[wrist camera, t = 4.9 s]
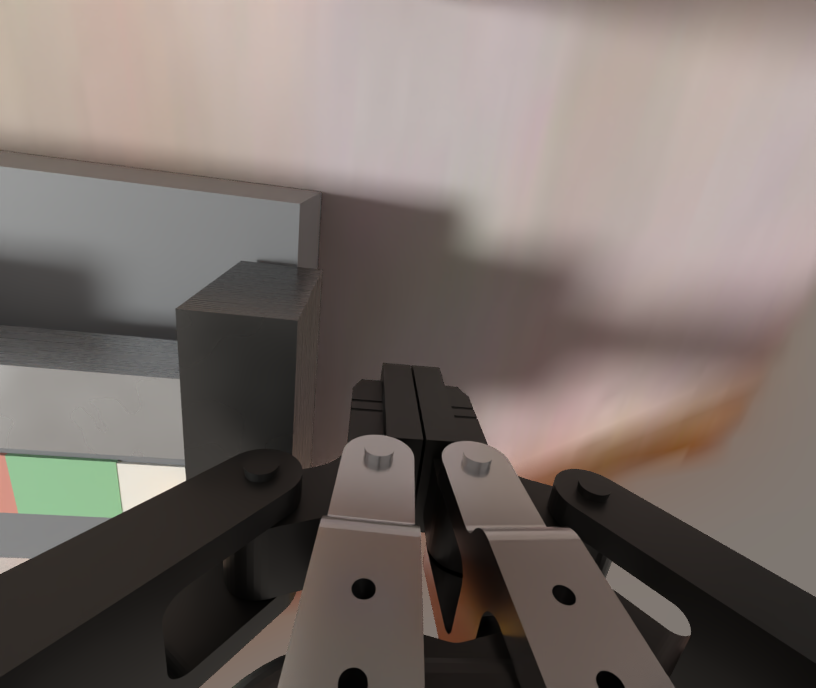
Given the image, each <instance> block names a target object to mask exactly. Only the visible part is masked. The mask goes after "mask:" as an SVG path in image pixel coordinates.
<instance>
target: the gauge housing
mask: <svg viewBox="0 0 816 688" xmlns="http://www.w3.org/2000/svg"><path fill="white" fill-rule="evenodd" d="M321 198H322V192H319V191H311V190H303V189H296V188H288V187H280V186H272V185H265V184H257V183H249V182H241V181H234V180H226V179H218V178H210V177H203V176H195V175H187V174H179V173H171V172H164V171H156V170H148V169H140V168H133V167H125V166H117V165H109V164H102V163H94V162H86V161H78V160H71V159H63V158H55V157H47V156H40V155H32V154H24V153H16V152H8V151H1V150H0V325H10V326H21V327H32V328H44V329H55V330H66V331H77V332H88V333H99V334H111V335H122V336H133V337H144V338H155V339H167V340H177V328H176V311H175V309H176V308H177V307H178V306H180V305H181V304H183V303H184V302H185V301H187V300H188V299H189V298H191V297H192V296H193V295H195V294H196V293H198V292H199V291H200V290H202V289H203V288H204V287H206V286H207V285H208V284H210V283H211V282H213V281H214V280H215V279H217V278H218V277H219V276H221V275H222V274H224V273H225V272H226V271H228V270H229V269H230V268H232V267H233V266H234V265H236V264H237V263H239V262H240V261H249V262H258V263H267V264H276V265H285V266H295V267H304V268H313V269H318V251H319V233H320V216H321ZM184 481H186V474H185V459H170V458H154V457H137V456H121V455H105V454H89V453H73V452H56V451H40V450H24V449H8V448H0V557H6V558H34V557H36V556H37V555H39V554H41V553H43V552H45V551H47V550H49V549H51V548H53V547H55V546H57V545H59V544H61V543H63V542H65V541H67V540H69V539H71V538H73V537H75V536H77V535H79V534H81V533H83V532H85V531H87V530H89V529H91V528H93V527H95V526H97V525H99V524H101V523H103V522H105V521H107V520H109V519H111V518H113V517H115V516H117V515H119V514H121V513H123V512H125V511H127V510H129V509H131V508H133V507H135V506H137V505H139V504H141V503H143V502H145V501H147V500H149V499H151V498H153V497H155V496H157V495H159V494H161V493H163V492H165V491H167V490H169V489H171V488H173V487H175V486H176V485H178V484H180V483H182V482H184Z"/></svg>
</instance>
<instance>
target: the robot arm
mask: <svg viewBox="0 0 816 688" xmlns="http://www.w3.org/2000/svg"><path fill="white" fill-rule="evenodd" d="M421 532H424V533H425V536H426V545H425V551H424V557H423V567H424V572H425V577H426V581H427V586H428V591H429V596H430V601H431V605H432V610H433V615H434V620H435V624H436V629H437V634H438V639H437V638H434V637H430V636H426V635H423V599H422V560H421ZM612 561H613V562H614V563H615V564H617V565H618V566H620V567H622V568H623V569H624V570H626V571H627V572H629V573H630V574H631V575H633V576H634V577H636V578H637V579H639V580H640V581H642V582H643V583H645V584H646V585H647V586H649V587H650V588H652V589H653V590H655V591H656V592H658V593H659V594H660V595H662V596H663V597H665V598H666V599H668V600H669V601H670V602H672V603H673V604H675V605H676V606H677V607H678V608H679V609H680V610H681V611H682V612H683V613H684V615H685V616H686V618H687V619H688V621H689V624H690V627H691V635H690V636H680V635H677V634H674V633H672V632H671V631H669V630H668V629H666V628H665V627H664V626H662V625H661V624H659V623H658V622H657V621H655V620H654V619H653V618H651V617H650V616H649V615H647V614H646V613H644V612H643V611H642V610H640V609H639V608H638V607H636V606H635V605H634V604H632V603H631V602H629V601H628V600H627V599H625V598H624V597H623V596H621V595H620V594H619V593H617V592H616V591H614V590H613V589H612V588H611V586H610V585H609V583H608V581H607V580H606V576H607V573H608V571H609V568H610V565H611V562H612ZM300 590H302V594H301V598H300V602H299V606H298V610H297V614H296V618H295V622H294V626H293V629H292V633H291V637H290V641H289V645H288V649H287V653H286V655H283V656H281V657H278V658H276V659H274V660H272V661H271V662H269V663H267V664H265V665H263V666H262V667H260V668H258V669H257V670H255V671H254V672H252V673H251V674H249V675H248V676H246V677H245V678H243V679H242V680H241V681H239V682H238V683H237V684H236V685H235V686H233V687H232V688H816V597H815V596H813V595H811V594H809V593H807V592H806V591H804V590H802V589H800V588H799V587H797V586H795V585H793V584H792V583H790V582H788V581H787V580H785V579H783V578H781V577H779V576H778V575H776V574H774V573H772V572H771V571H769V570H767V569H765V568H763V567H762V566H760V565H758V564H757V563H755V562H753V561H751V560H750V559H748V558H746V557H744V556H743V555H741V554H739V553H737V552H735V551H734V550H732V549H730V548H728V547H727V546H725V545H723V544H722V543H720V542H718V541H716V540H715V539H713V538H711V537H709V536H708V535H706V534H704V533H702V532H701V531H699V530H697V529H695V528H693V527H692V526H690V525H688V524H686V523H685V522H683V521H681V520H679V519H678V518H676V517H674V516H672V515H671V514H669V513H667V512H665V511H664V510H662V509H660V508H658V507H656V506H655V505H653V504H651V503H650V502H648V501H646V500H644V499H643V498H641V497H639V496H637V495H636V494H634V493H632V492H630V491H629V490H627V489H625V488H623V487H622V486H620V485H618V484H616V483H615V482H613V481H611V480H609V479H607V478H605V477H603V476H601V475H599V474H596V473H593V472H590V471H586V470H580V469H568V470H564V471H562V472H560V473H558V474H557V476H556V477H555V480H554V483H553V486H550V485H546V484H542V483H539V482H535V481H531V480H528V479H525V478H522V477H519V476H517V474H516V472H515V470H514V469H513V467H512V465H511V463H510V461H509V460H508V459H507V457H506V456H505V455H504V454H502V453H501V452H500V451H498V450H497V449H495V448H493V447H491V446H489V445H488V444H487V442H486V439H485V437H484V434H483V432H482V429H481V427H480V424H479V422H478V419H477V417H476V414H475V412H474V410H473V407H472V404H471V402H470V399H469V397H468V396H467V395H466V394H465V393H463V392H462V391H461V390H460V389H459V388H458V387H451V386H445V385H444V382H443V378H442V375H441V372H440V369H439V368H436V367H425V366H413V365H412V366H410V365H401V364H389V363H383V365H382V372H381V381H376V380H364V379H362V380H361V381H360V382H359V383H358V384H357V385H355V386H354V387H353V392H352V402H351V413H350V423H349V433H348V443H347V444H346V446H345V447H344V449H343V453H342V455H341V456H340V457H339V458H338V459H336V460H334V461H333V462H330V463H328V464H325V465H322V466H318V467H313V468H307V469H302V465H301V464H300V462H299V461H298V459H297V458H296V457H294V456H293V455H291V454H289V453H287V452H284V451H281V450H276V449H255V450H250V451H247V452H243V453H241V454H238V455H236V456H234V457H232V458H230V459H228V460H226V461H224V462H222V463H220V464H218V465H216V466H214V467H212V468H210V469H208V470H206V471H204V472H202V473H200V474H198V475H196V476H194V477H192V478H190V479H188V480H186V481H184V482H182V483H180V484H178V485H176V486H175V487H173V488H171V489H169V490H167V491H165V492H163V493H161V494H159V495H157V496H155V497H153V498H151V499H149V500H147V501H145V502H143V503H141V504H139V505H137V506H135V507H133V508H131V509H129V510H127V511H125V512H123V513H121V514H119V515H117V516H115V517H113V518H111V519H109V520H107V521H105V522H103V523H101V524H99V525H97V526H95V527H93V528H91V529H89V530H87V531H85V532H83V533H81V534H79V535H77V536H75V537H73V538H71V539H69V540H67V541H65V542H63V543H61V544H59V545H57V546H55V547H53V548H51V549H49V550H47V551H45V552H43V553H41V554H39V555H37V556H36V557H34V558H32V559H30V560H28V561H26V562H24V563H22V564H20V565H18V566H16V567H14V568H12V569H10V570H8V571H6V572H4V573H2V574H0V688H199V687H200V686H201V685H203V683H205V682H206V681H207V680H208V679H209V678H210V677H211V676H212V675H214V674H215V673H216V672H217V671H218V670H219V669H220V668H221V667H222V666H223V665H224V664H226V663H227V662H228V661H229V660H230V659H231V658H232V657H233V656H234V655H235V654H237V653H238V652H239V651H240V650H241V649H242V648H243V647H244V646H245V645H246V644H247V643H249V642H250V641H251V640H252V639H253V638H254V637H255V636H256V635H257V634H259V633H260V632H261V631H262V629H264V628H265V627H266V626H267V625H268V624H269V623H271V622H272V621H273V620H274V619H275V618H276V617H277V616H278V615H279V614H281V613H282V612H283V611H284V610H285V609H286V608H287V607H288V606H289V605H290V603H291V602H292V600H293V599H294V596H295V594H296V592H297V591H300Z"/></svg>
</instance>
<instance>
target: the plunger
mask: <svg viewBox="0 0 816 688" xmlns="http://www.w3.org/2000/svg"><path fill="white" fill-rule="evenodd" d="M321 287H322V269H313V268H304V267H295V266H285V265H276V264H267V263H258V262H249V261H240V262H239V263H237V264H236V265H234V266H233V267H232V268H230V269H229V270H228V271H226V272H225V273H224V274H222V275H221V276H219V277H218V278H217V279H215V280H214V281H213V282H211V283H210V284H208V285H207V286H206V287H204V288H203V289H202V290H200V291H199V292H198V293H196V294H195V295H193V296H192V297H191V298H189V299H188V300H187V301H185V302H184V303H183V304H181V305H180V306H178V307H177V308H176V309H175V311H176V328H177V340H167V339H155V338H144V337H133V336H122V335H111V334H99V333H88V332H77V331H66V330H55V329H44V328H32V327H21V326H10V325H0V448H8V449H24V450H40V451H56V452H73V453H89V454H105V455H121V456H137V457H154V458H170V459H185V474H186V480H188V479H190V478H192V477H194V476H196V475H198V474H200V473H202V472H204V471H206V470H208V469H210V468H212V467H214V466H216V465H218V464H220V463H222V462H224V461H226V460H228V459H230V458H232V457H234V456H236V455H238V454H241V453H243V452H247V451H250V450H255V449H276V450H281V451H284V452H287V453H289V454H291V455H293V456H294V457H296V458H297V459H298V461H299V462H300V464H301V465H302V469H307V468H310V467H311V454H312V438H313V421H314V404H315V387H316V371H317V354H318V337H319V321H320V304H321Z"/></svg>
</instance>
